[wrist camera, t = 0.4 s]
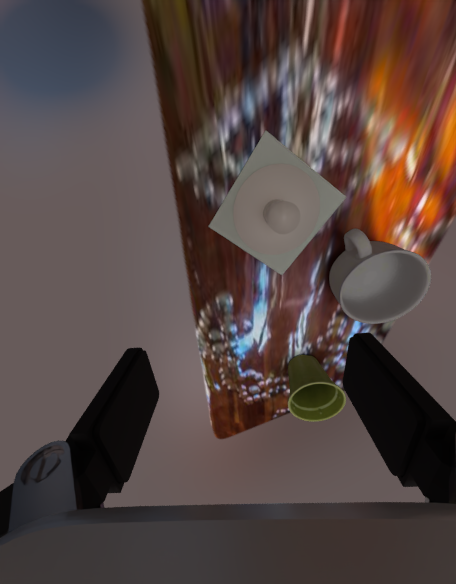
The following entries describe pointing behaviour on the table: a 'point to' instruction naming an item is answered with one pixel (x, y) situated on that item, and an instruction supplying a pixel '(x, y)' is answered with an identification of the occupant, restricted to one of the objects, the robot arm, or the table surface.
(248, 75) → the table surface
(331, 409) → the plant pot
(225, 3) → the table surface
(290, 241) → the lid
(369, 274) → the teacup
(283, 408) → the table surface
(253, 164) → the mat
